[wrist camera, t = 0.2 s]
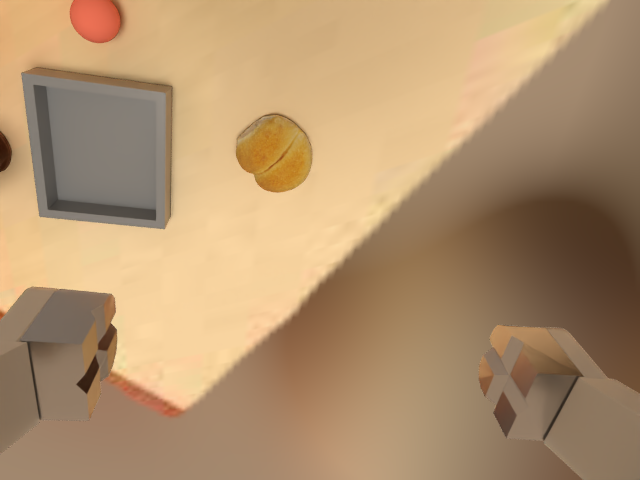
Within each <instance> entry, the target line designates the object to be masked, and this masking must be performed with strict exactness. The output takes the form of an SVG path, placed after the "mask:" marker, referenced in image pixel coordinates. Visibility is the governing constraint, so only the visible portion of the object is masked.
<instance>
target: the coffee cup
mask: <svg viewBox="0 0 640 480" xmlns="http://www.w3.org/2000/svg"><path fill="white" fill-rule="evenodd" d="M10 160H11V149H10V146H9V144H8V142H7V140H6V139H5V137H4V136H3V135H2V134H1V133H0V172H1V171H3V170H5V169H6V168H7V167H8V165H9V163H10Z"/></svg>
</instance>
